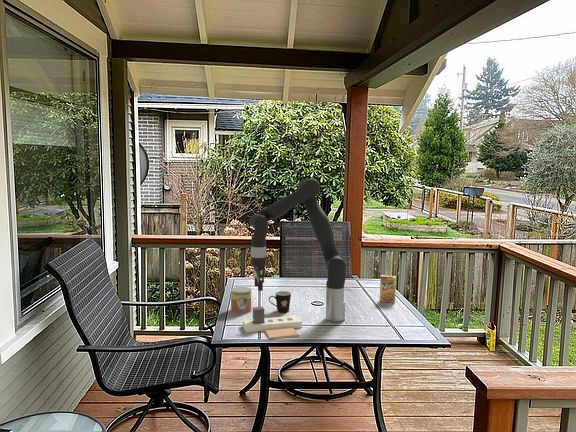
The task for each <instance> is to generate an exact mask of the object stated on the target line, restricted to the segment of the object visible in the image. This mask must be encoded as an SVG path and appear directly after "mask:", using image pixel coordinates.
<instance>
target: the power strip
mask: <svg viewBox="0 0 576 432" xmlns="http://www.w3.org/2000/svg"><path fill="white" fill-rule="evenodd" d="M242 327H243V329H244V331H245V333H254V332H256V333H257V332H265V330H269V329H281V328H292V327H293V328H294V329H298V328H300V329H301V328H303V321H302V320H301V318H300V317H299V316H298V315H289V316H279V317H278V316H277V317H264V323H261V324H253V318H252V319H250V318H249V319H242Z"/></svg>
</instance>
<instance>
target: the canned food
mask: <svg viewBox="0 0 576 432" xmlns="http://www.w3.org/2000/svg"><path fill="white" fill-rule="evenodd" d="M230 312H231V313H232V314H234V315H235V314H236V315H247V314H249V313H251V312H252V288H251V287H248V286H236V287H232V288H231V289H230Z"/></svg>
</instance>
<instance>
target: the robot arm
mask: <svg viewBox="0 0 576 432" xmlns="http://www.w3.org/2000/svg"><path fill="white" fill-rule="evenodd" d="M320 191H321V184H320V182H319V181H318V180H316V179H315V178H307V179H303V180H300V182H299V183H298V185H297V190H294V192H291V193H290V194H288V195H286V196H284V197H282V198H280V199H278V200H276V201H275V202H273V203H272V204H270V205H268V206H267V207H266V208H264V209H261V210H259V211H257V212H255V213H254V214H252V215H251V216H250V218H249V226H250V227H252V228H253V229H254V230H253V234H252V235H251V239H250V240H251V242H250V243H251V245H250V265H251V266H252V267H253V269H252V271H253V274H252V276H253V279H254V286H255V287H257V291H258V292H260V291H264V289H263V287H264V285H263V283H265V270H264V269H263V267H265V266H267V235H268V229H269V222H270V221H274V220H276V219H278V218H280V217H281V216H283V215H284V214H286V213H287V212H289V211H290V210H292V209H293V208H295V207H296V206H297V205H299V204H301V203H303V205H304V207H305V209H306V212H307V213H306V214H307V216H308V219H309V221H310V225H311V228H312V229H313V233H314V235H315V238H316V241H317V243H318V244H319V246H320V249H321V252H322V255H323V259H324V264H325V268H326V270H327V280H326V284H325V285H326V287H325V290H326V291H325V320H326V321H328V322H334V323H337V322H338V323H339V322H343V321H345V320H346V301H345V283H346V278H347V277H346V274H347V273H346V272H347V265H346V262H345V260H344V259H343V258H342V257H341V255H340V254H339V252H338V250H337V248H336V244H335V237H334V232H333V228H332V224H331V222H330V219H329V217H328V216H327V214H326V213H325V211H324V210H323V208H322V207H321V205H320V203H319V202H318V199H317V195H319V193H320Z"/></svg>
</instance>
